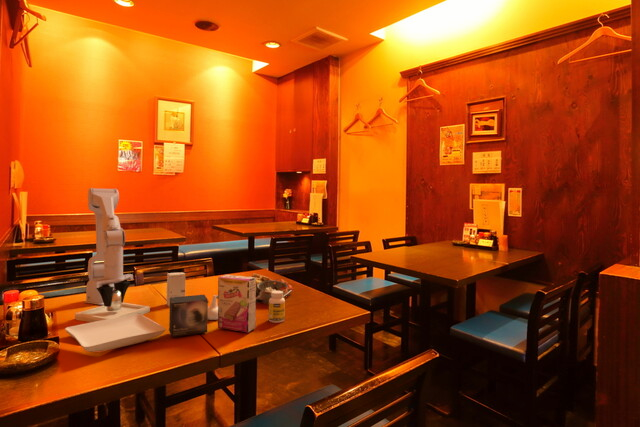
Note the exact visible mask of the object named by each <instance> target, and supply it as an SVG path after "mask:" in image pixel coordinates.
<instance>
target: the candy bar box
mask: <svg viewBox="0 0 640 427" xmlns="http://www.w3.org/2000/svg"><path fill="white" fill-rule="evenodd" d="M217 283H218V284H217V296H218V298H217V306H218V320H217V328H218V329H221V330H223V329H224V330H228V331H234V332H235V331H236V332H239V333H247V334H248V333H250V332H251V331H253V330H255V329H256V322H257V321H256V320H257V319H256V317H257V316H256V315H257V314H256V310H257V307H256V305H257V303H256V278H254V277H252V276H250V277H249V276H243V275H235V274H234V275H233V274H224V275H221V276H219V277H218V281H217Z"/></svg>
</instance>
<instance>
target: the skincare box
mask: <svg viewBox="0 0 640 427" xmlns="http://www.w3.org/2000/svg"><path fill="white" fill-rule="evenodd" d="M182 296H186V273H185V272H182V271H181V272H170V273H166V306H168V307H169V308H170V298H171V297H182Z"/></svg>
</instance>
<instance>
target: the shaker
mask: <svg viewBox="0 0 640 427" xmlns="http://www.w3.org/2000/svg"><path fill="white" fill-rule="evenodd" d="M120 309H121V290H120V289H115V288H114V289H113V291H112V295H111V306H110V307H107V311H117V310H120Z"/></svg>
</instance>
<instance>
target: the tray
mask: <svg viewBox="0 0 640 427" xmlns="http://www.w3.org/2000/svg"><path fill="white" fill-rule="evenodd" d="M150 308H151V305H150V306H149V305H143V304H142V305H141V304H134V303H128V302H123V303H121V309H120V310H117V311H107V306H104V305H99V306H97V307H94V308H89V309H85V310H83V311H79V312H76V313H74V320H76V321H80V322H81V321H82V322H87V323H91V322H96V321H101V320H106V319H112V318H117V317H123V316H129V315H134V314H141V315H143V316H144V315H145V314H148V313H150V312H151V309H150Z"/></svg>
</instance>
